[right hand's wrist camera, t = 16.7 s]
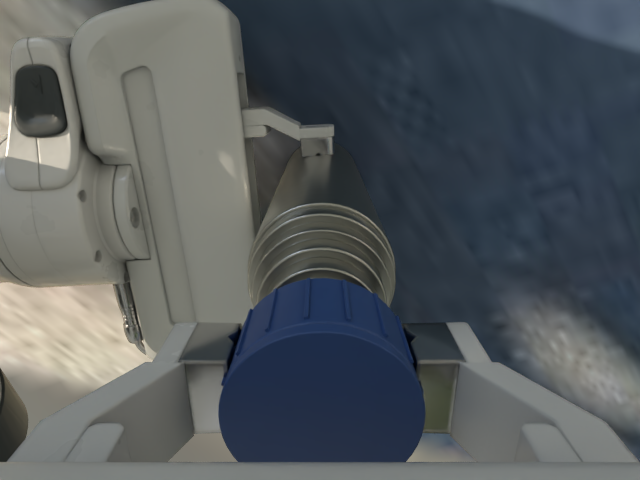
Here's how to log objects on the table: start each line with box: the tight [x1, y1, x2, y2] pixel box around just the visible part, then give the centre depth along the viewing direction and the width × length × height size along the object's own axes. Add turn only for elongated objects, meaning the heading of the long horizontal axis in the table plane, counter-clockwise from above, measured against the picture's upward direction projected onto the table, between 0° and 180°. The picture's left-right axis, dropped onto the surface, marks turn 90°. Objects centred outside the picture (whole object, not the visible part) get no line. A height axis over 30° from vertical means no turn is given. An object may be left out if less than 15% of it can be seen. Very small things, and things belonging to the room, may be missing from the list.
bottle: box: [248, 143, 396, 308], centre depth 19 cm, size 5×5×22 cm
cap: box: [218, 278, 426, 462], centre depth 9 cm, size 4×4×2 cm
